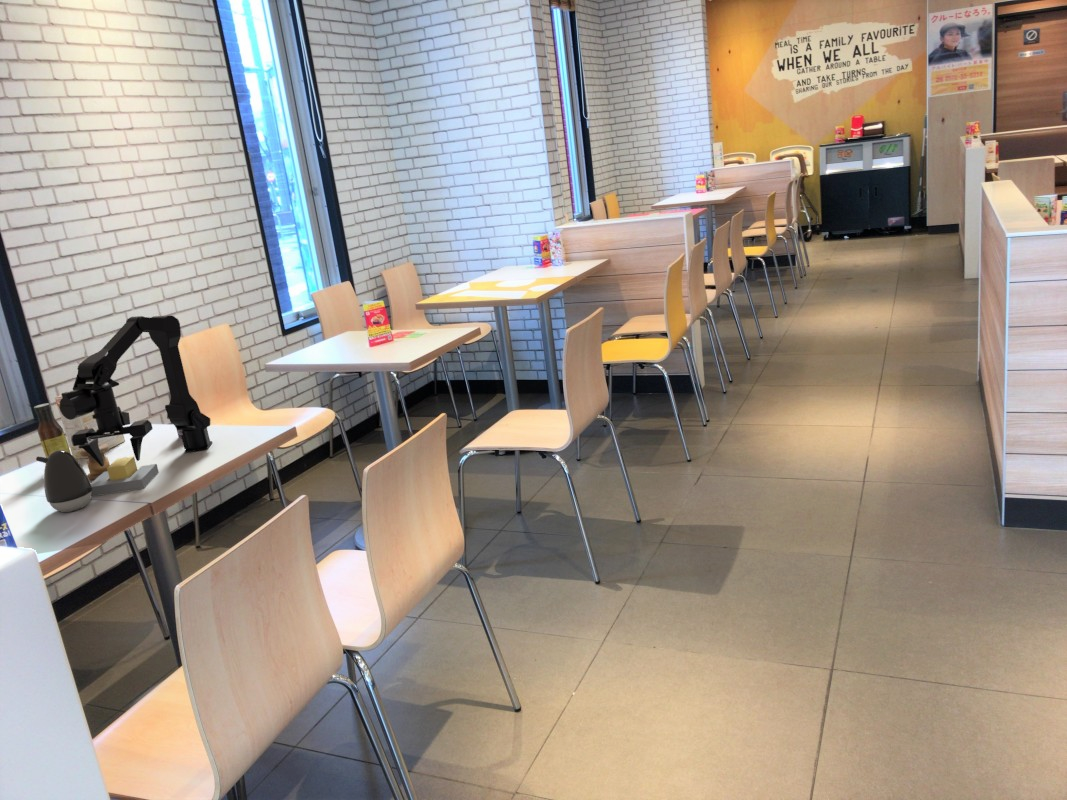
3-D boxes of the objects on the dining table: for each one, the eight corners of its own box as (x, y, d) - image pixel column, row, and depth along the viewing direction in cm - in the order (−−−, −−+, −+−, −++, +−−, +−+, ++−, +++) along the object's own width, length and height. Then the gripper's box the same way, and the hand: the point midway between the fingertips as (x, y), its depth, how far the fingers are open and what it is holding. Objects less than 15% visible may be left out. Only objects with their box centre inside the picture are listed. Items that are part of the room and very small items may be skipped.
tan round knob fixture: (119, 469, 236) (111, 442, 234) (110, 478, 229) (102, 450, 227) (93, 473, 236) (86, 446, 233) (83, 482, 229) (75, 454, 227)
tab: (130, 486, 221) (124, 465, 219) (112, 489, 220) (106, 467, 219) (139, 477, 227) (133, 456, 226) (122, 479, 227) (116, 459, 225)
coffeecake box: (108, 441, 266) (91, 382, 261) (126, 441, 264) (110, 381, 259) (71, 459, 253) (53, 397, 247) (90, 458, 251) (72, 395, 245)
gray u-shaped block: (158, 472, 229) (156, 463, 228) (144, 488, 217) (141, 479, 217) (106, 480, 228) (103, 471, 227) (88, 496, 216) (86, 487, 216)
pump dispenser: (61, 503, 214) (44, 447, 210) (103, 497, 215) (86, 441, 211) (42, 519, 205) (24, 460, 200) (85, 513, 205) (68, 454, 201)
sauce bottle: (80, 466, 244) (61, 401, 238) (62, 474, 238) (42, 408, 233) (63, 466, 246) (43, 401, 240) (45, 474, 240) (25, 408, 235)
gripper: (151, 393, 227) (165, 448, 231) (80, 404, 225) (96, 458, 230) (137, 404, 216) (152, 461, 221) (62, 416, 215) (79, 472, 219)
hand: (120, 463), depth 223 cm, fingers open, 9 cm apart
